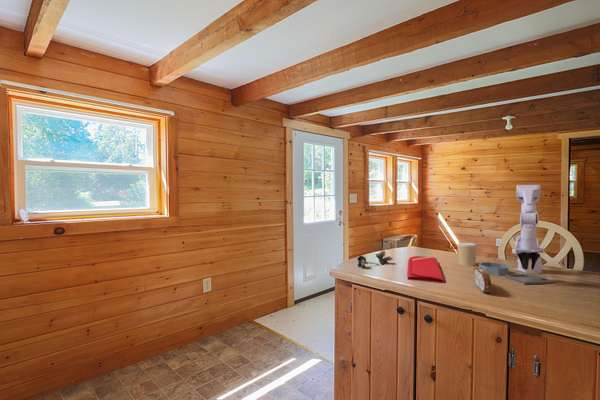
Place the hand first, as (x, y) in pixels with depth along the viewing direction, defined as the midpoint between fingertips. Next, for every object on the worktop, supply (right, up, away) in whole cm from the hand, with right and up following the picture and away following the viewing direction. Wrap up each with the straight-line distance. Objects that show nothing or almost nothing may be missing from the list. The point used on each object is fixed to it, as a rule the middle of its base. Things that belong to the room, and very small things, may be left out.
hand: (527, 268), depth 139 cm
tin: (-27, -6, -11) cm, 30 cm away
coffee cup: (-12, -5, +29) cm, 32 cm away
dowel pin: (0, -3, 0) cm, 3 cm away
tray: (0, -6, 0) cm, 6 cm away
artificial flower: (-62, -5, +32) cm, 70 cm away
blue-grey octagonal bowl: (-7, -5, +13) cm, 16 cm away
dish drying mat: (-40, -6, +20) cm, 44 cm away
